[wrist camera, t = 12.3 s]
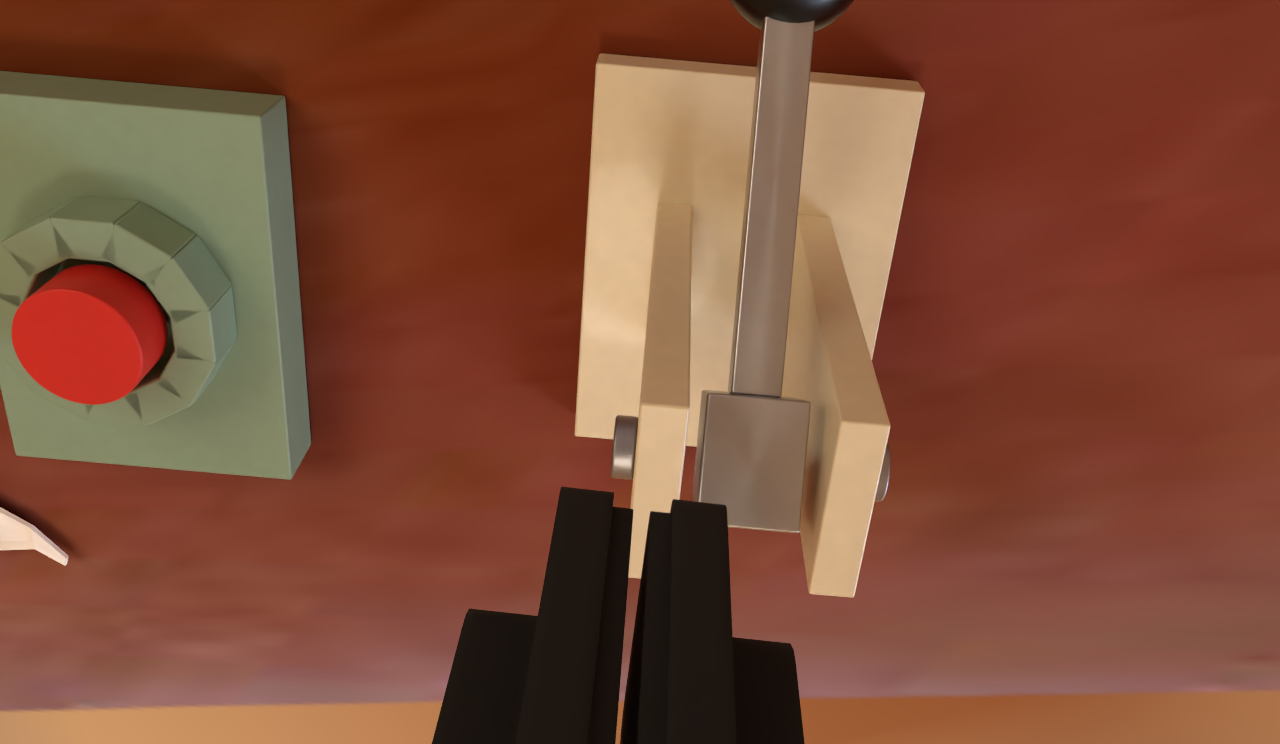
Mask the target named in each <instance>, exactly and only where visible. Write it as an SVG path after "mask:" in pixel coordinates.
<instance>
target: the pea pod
mask: <svg viewBox="0 0 1280 744" xmlns="http://www.w3.org/2000/svg"><path fill="white" fill-rule="evenodd" d="M26 549H35V550H37V551H39V552H41V553H43V554H44V555H46V556H48V557H50V558H52V559H54V560H55V561H57V562H59V563H61V564H63V565H65V566H66V564H67V563H68V557H69V556H68V555H67V554H66V553H64V552H63V551H62V550H61V549H60V548H59V547H58V546H57V545H55V544H54V543H53V542H52V541H51V540H50V539H49V538H47V537H46V536H45V535H44V534H43V533H42V532H41V531H40V530H38V529H37V528H36V527H35V526H34V525H32V524H30V523H28V522H26V521H25V520H23V519H21V518H19V517H17V516H16V515H14V514H12V513H10V512H8V511H7V510H5V509H3V508H1V507H0V550H26Z"/></svg>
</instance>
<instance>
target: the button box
mask: <svg viewBox="0 0 1280 744" xmlns="http://www.w3.org/2000/svg"><path fill="white" fill-rule="evenodd" d="M85 264H96V265H103V266H107V267H111V268H114V269H117V270H119V271H122V272H124V273H126V274H128V275H129V276H131V277H133V278H134V279H136V280H137V281H138V282H140V283H141V284H142V285H143V286H144V287H145V288H146V289H147V290H148V291H149V292H150V293H151V294H152V295H153V296H154V298H155V299H156V301H157V302H158V304H159V305H160V307H161V309H162V311H163V314H164V316H165V319H166V324H167V333H168V336H167V344H166V348H165V351H164V353H163V355H162V356H161V358H160V360H159V361H158V362H157V363H156V364H155V365H154V366H153V368H152V369H151V370H150V371H149V372H148V373H147V374H146V375H145V377H144V378H143V379H142V380H141V381H140V382H139V383H138V384H137V385H136V387H135V388H134V389H133V390H132V391H131V392H130V393H129V394H127V395H126V396H124V397H123V398H121V399H119V400H116V401H114V402H110V403H105V404H97V405H90V404H81V403H76V402H72V401H69V400H66V399H63V398H61V397H59V396H57V395H55V394H53V393H51V392H50V391H48V390H46V389H45V388H44V387H42V386H41V385H40V384H39V383H37V382H36V381H35V380H34V379H33V378H32V377H31V376H30V375H29V374H28V372H27V371H26V370H25V368H24V367H23V366H22V364H21V362H20V361H19V359H18V357H17V355H16V352H15V350H14V346H13V343H12V336H11V333H12V323H13V318H14V316H15V313H16V311H17V309H18V308H19V306H20V305H21V304H22V303H23V302H24V301H25V300H26V299H27V298H28V297H29V296H31V295H32V294H33V293H34V292H36V291H37V290H38V289H39V288H41V287H42V286H43V285H44V284H46V283H47V282H48V281H49V280H51V279H52V278H53V277H54V276H55V275H57V274H58V273H60V272H61V271H63V270H65V269H67V268H70V267H73V266H77V265H85ZM0 387H1V391H2V396H3V400H4V405H5V409H6V414H7V418H8V423H9V427H10V431H11V436H12V440H13V445H14V449H15V454H16V455H18V456H29V457H40V458H52V459H63V460H74V461H86V462H97V463H108V464H119V465H131V466H142V467H153V468H165V469H176V470H187V471H199V472H210V473H221V474H232V475H244V476H255V477H266V478H278V479H289V480H290V479H292V477H293V475H294V474H295V472H296V470H297V468H298V467H299V465H300V463H301V461H302V459H303V458H304V456H305V454H306V452H307V451H308V449H309V447H310V445H311V435H310V422H309V409H308V395H307V382H306V368H305V355H304V341H303V328H302V315H301V301H300V288H299V274H298V261H297V248H296V234H295V221H294V207H293V194H292V180H291V167H290V154H289V140H288V127H287V113H286V100H285V96H281V95H269V94H258V93H246V92H235V91H224V90H212V89H201V88H190V87H178V86H167V85H156V84H144V83H133V82H121V81H110V80H99V79H87V78H76V77H65V76H53V75H42V74H30V73H19V72H8V71H0Z"/></svg>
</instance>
